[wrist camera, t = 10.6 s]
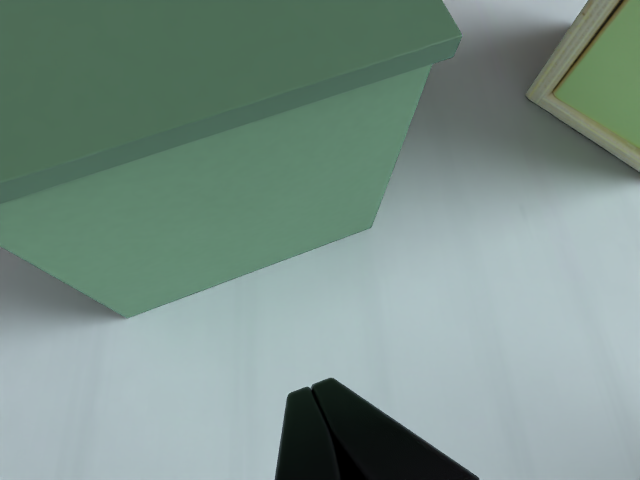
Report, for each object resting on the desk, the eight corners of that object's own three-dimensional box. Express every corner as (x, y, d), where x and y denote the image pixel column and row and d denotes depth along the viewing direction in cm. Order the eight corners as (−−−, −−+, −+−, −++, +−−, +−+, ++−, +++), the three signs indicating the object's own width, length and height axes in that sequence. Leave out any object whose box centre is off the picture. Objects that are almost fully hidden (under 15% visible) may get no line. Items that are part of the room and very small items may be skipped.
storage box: (380, 231, 25) (463, 35, 12) (121, 327, 23) (-103, 215, 10) (300, 59, 28) (300, -241, 15) (66, 131, 26) (-159, -143, 13)
